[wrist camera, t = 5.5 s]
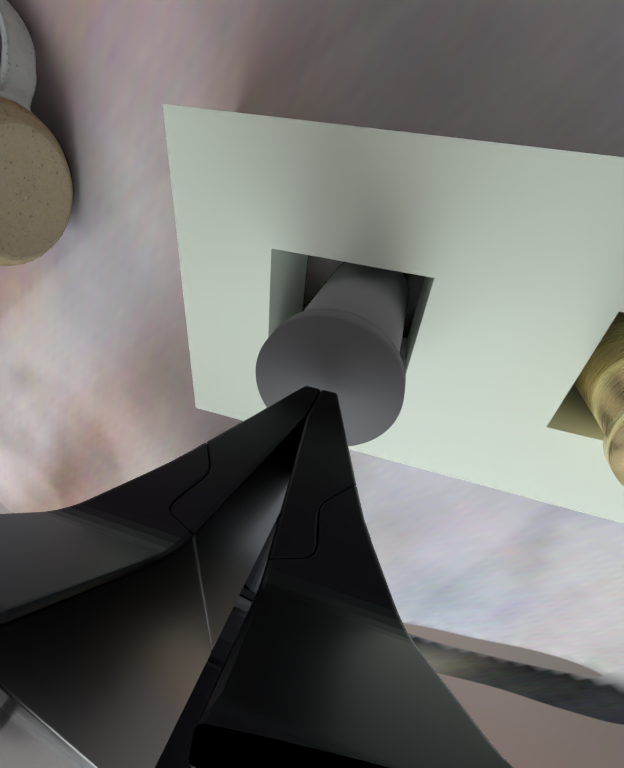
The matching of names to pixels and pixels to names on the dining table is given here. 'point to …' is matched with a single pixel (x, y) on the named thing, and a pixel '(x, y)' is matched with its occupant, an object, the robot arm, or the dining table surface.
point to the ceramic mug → (27, 155)
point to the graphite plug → (344, 349)
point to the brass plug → (607, 392)
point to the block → (420, 257)
